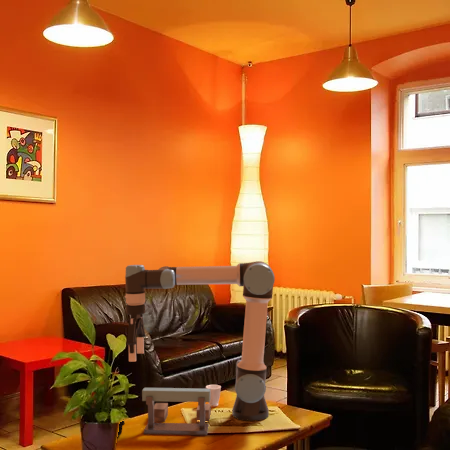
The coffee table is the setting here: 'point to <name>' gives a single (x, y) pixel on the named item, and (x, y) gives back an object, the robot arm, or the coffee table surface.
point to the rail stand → (176, 427)
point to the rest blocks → (162, 412)
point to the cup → (214, 394)
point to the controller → (120, 428)
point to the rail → (176, 394)
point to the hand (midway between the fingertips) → (136, 357)
